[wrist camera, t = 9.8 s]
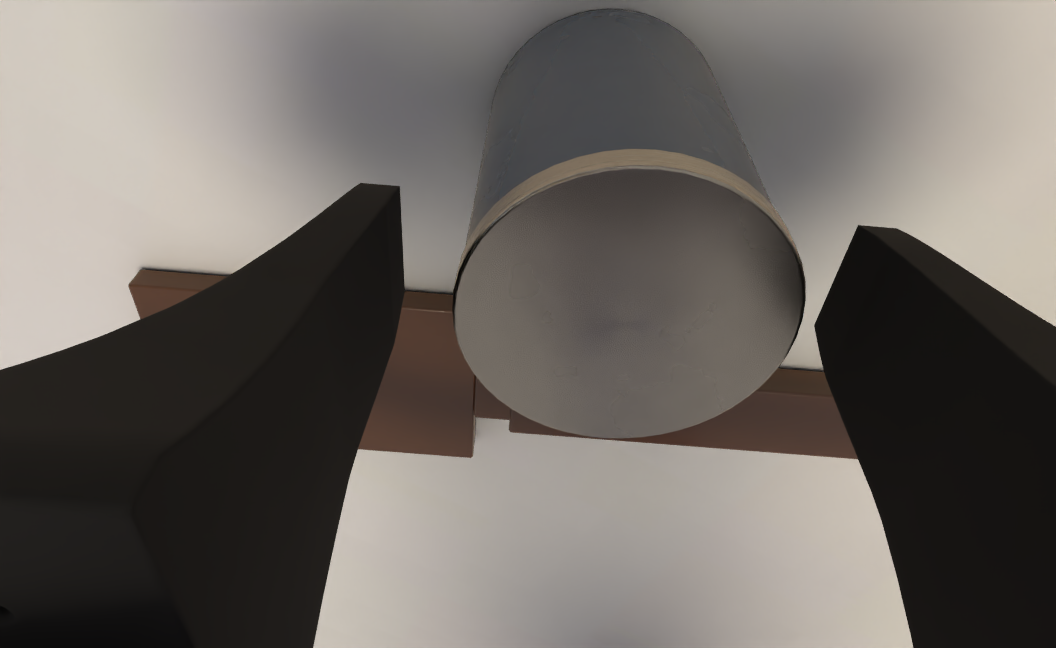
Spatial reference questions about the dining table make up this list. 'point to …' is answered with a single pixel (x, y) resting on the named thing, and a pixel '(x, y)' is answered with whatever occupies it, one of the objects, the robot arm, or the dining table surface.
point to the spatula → (459, 397)
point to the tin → (621, 238)
